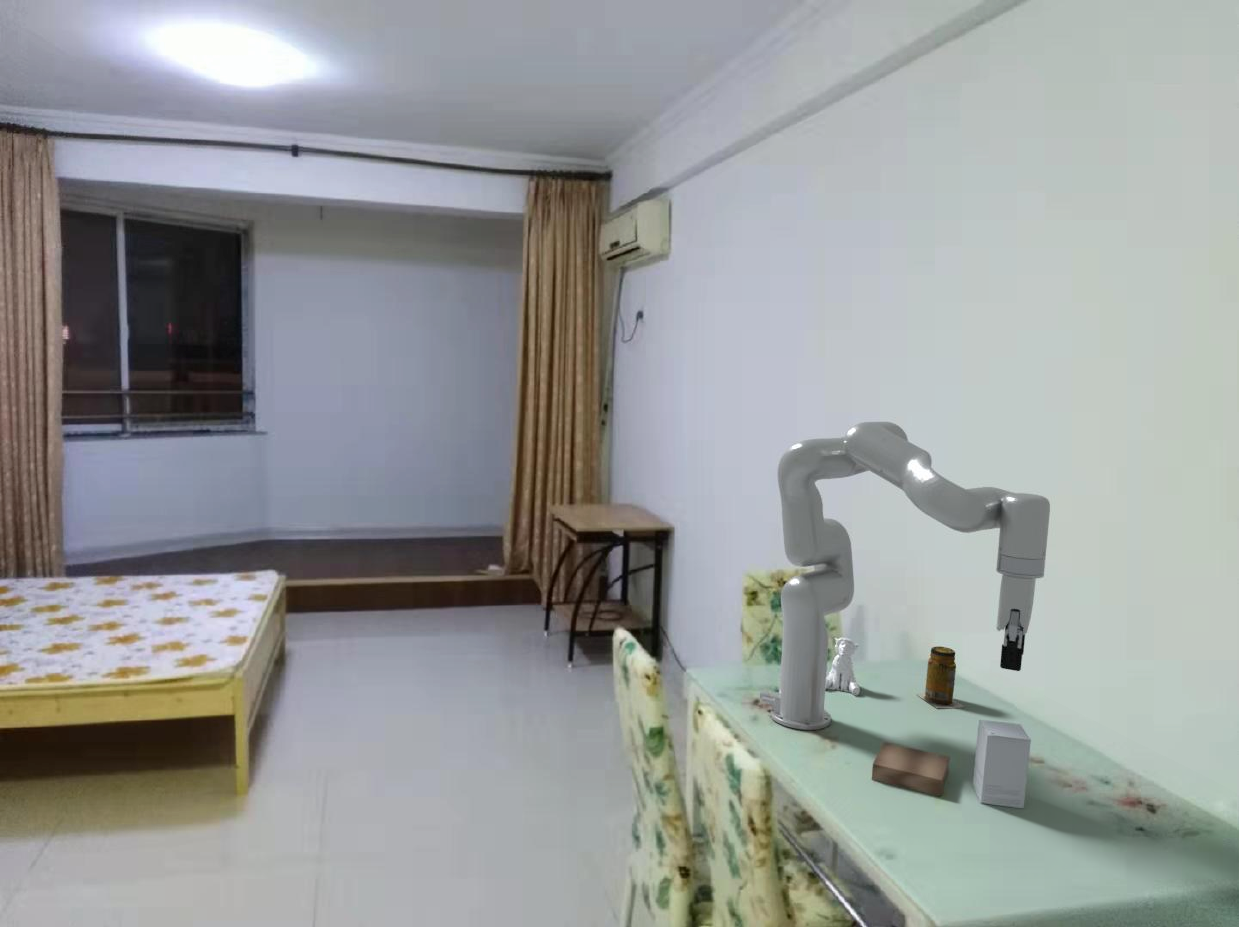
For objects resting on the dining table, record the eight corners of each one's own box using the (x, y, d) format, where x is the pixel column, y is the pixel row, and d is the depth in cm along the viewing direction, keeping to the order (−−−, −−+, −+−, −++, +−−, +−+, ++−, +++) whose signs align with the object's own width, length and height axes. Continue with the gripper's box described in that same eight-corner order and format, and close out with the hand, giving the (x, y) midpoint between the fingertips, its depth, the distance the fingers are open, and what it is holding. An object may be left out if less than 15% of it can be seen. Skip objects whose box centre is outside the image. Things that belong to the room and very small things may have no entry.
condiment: (943, 693, 207) (948, 644, 205) (965, 707, 198) (970, 656, 197) (915, 695, 205) (920, 645, 204) (936, 709, 197) (940, 657, 195)
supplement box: (1025, 809, 152) (1032, 740, 151) (979, 803, 154) (986, 734, 152) (1014, 789, 160) (1021, 723, 158) (971, 784, 161) (978, 718, 160)
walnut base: (871, 779, 161) (872, 763, 161) (882, 756, 171) (884, 741, 171) (940, 796, 156) (941, 780, 156) (948, 771, 166) (949, 756, 165)
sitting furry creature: (817, 689, 206) (820, 640, 204) (822, 678, 214) (825, 630, 212) (858, 696, 202) (862, 646, 201) (862, 684, 210) (866, 635, 209)
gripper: (1000, 553, 161) (992, 644, 163) (993, 571, 146) (984, 671, 148) (1045, 559, 158) (1037, 651, 160) (1043, 578, 143) (1033, 680, 144)
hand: (1011, 661), depth 154 cm, fingers open, 9 cm apart
